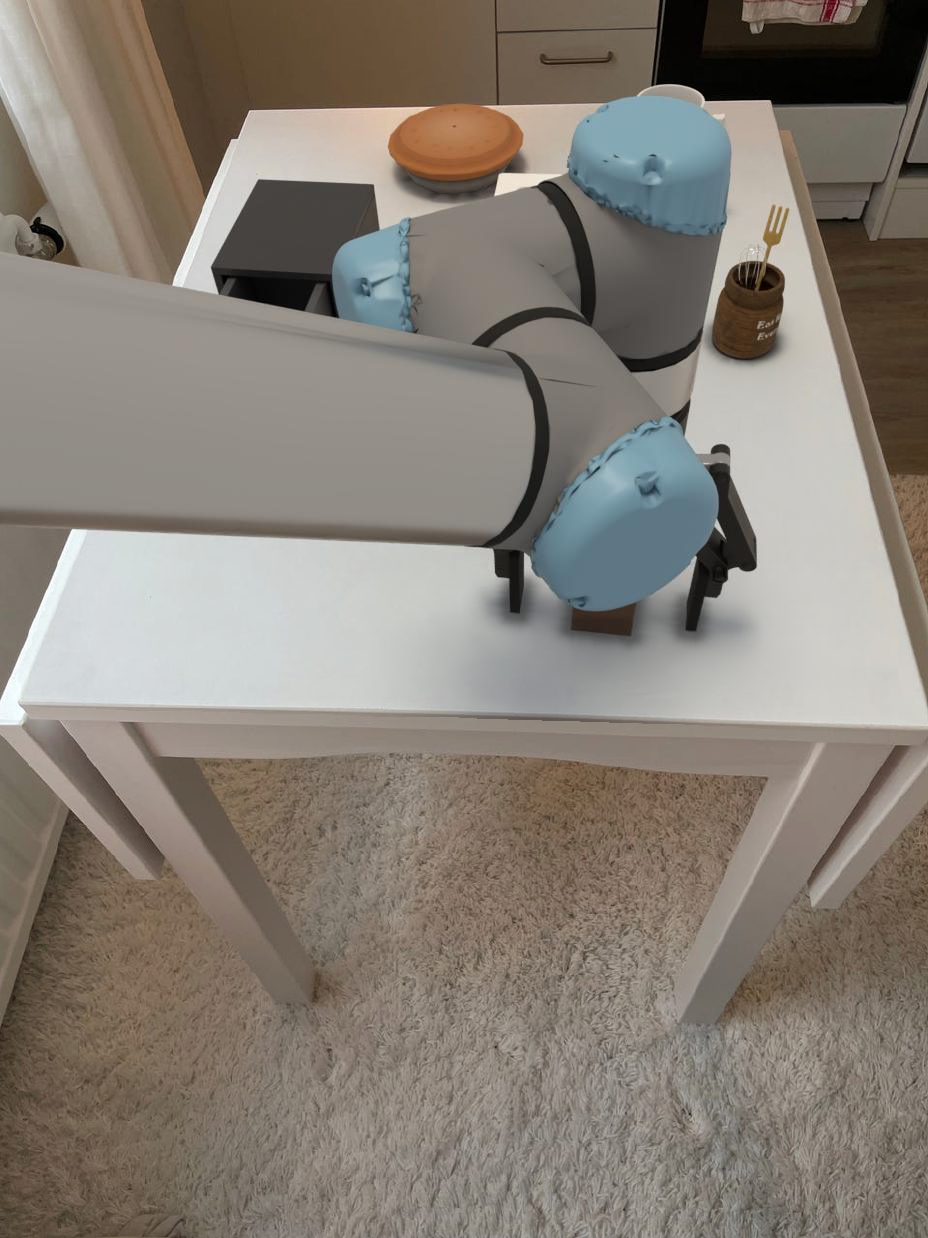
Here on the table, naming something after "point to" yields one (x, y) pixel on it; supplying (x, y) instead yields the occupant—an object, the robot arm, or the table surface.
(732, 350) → the utensil holder
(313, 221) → the cabinet
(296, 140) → the table surface
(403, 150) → the pie
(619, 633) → the block
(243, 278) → the drawer
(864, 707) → the table surface
